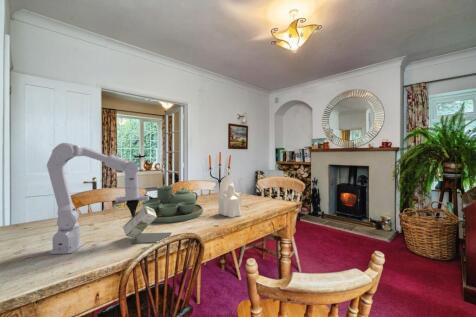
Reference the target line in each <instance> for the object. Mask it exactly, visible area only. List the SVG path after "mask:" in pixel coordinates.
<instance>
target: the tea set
mask: <svg viewBox="0 0 476 317" xmlns="http://www.w3.org/2000/svg"><path fill="white" fill-rule="evenodd" d="M156 190H157V193H156V196H157V199H156V198H152V199H150V198H149V200H148V201H146V200H144V201H142V208H143V207H144V206H147V207H149V208H151V209H153V210H154V211H155V213H156V216H157V217H156V218H155V219H154V220H153V221H152V222H151V223H155V224H156V223H166V224H169V223H177V222H178V223H179V222H185V221H188V220H189V221H190V220H192V219H195V218H198V217H199V216H201V215H202V214H203V212H204V207H203V206H201V205H200V204H198V203H197V201H198V197H199V196H198V193H197V192H196V191H192V192H191V190H190V189H188V188H184V187H183V188H180V189H179V188H178V189H177V190H175V192H173V190H174V186H173V185H158V186H156Z"/></svg>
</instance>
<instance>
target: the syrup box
mask: <svg viewBox="0 0 476 317" xmlns="http://www.w3.org/2000/svg"><path fill="white" fill-rule="evenodd" d="M156 217H157V216H156V213H155V211H154V210H153V209H151V208H149V207H147V206H144V207H143V206H142V207H141V208H140V209H139V210H138V212H136V213H135V216H134V217H131V218H130V219H129V220H128V222H127V223H126V224H124V225H123V227H122V229H123V231H124V234H125V236H126V237H128V238H132V239H135V238H136V237H137V236H138V235H139V234H140V233H143V231H144V230H146V229H147V228H148V226H150V225H151V223H153V222H152V221H153V220H154V219H155V218H156Z"/></svg>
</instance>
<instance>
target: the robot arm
mask: <svg viewBox="0 0 476 317" xmlns="http://www.w3.org/2000/svg"><path fill="white" fill-rule="evenodd" d="M76 157H87V158H89V159H93V160H96V161H100V162H103V163H105V165H106V167H108V168H111V169H115V170H117V171H119V172H124V176H125V177H124V191H125V194H124V195H125V196H117V197H116V198H115V203H120V202H121V203H123V202H126V203H125V205H126V207H127V208H128V210H129V212H130V214H131V218H133V217H134V216H135V215H136V214H137V208H138V206H139V203H140V201H141V202H143V201H145V200H146V201H148V200H150V196H149V195H140V189H139V177H138V176H139V174H138V171H139V167H138V164H137V163H135V162H134V161H131V160H130V159H128V158H126V159H125V158H123V157H120V156H119V154H116V153H115V154H109V155H106V154H104V153H101V152H98V151H97V150H94V149H90V148H89V147H85V146H81V145H76V144H73V143H68V142H62V143H61V142H60V143H59V144H58V145H56V146H55V147H54V148H53V149H52V150H51V154H50V157H49V159H48V161H47V162H46V168H47V171H48V172H47V173H48V175H49V179H50V184H51V187H52V191H53V193H54V197H55V201H56V206H57V214H56V215H57V220H56V225H57V231H56V233H55V234H54V235H53V236H52V240H51V241H52V251H51V252H50V254H51V255H57V254H58V255H59V254H60V255H61V254H62V255H63V254H72V253H74V252H75V251H77V250H78V249H80V248H81V247H82V246H84V245H85V242H81V239H80V238H81V237H80V234H81V233H80V231H81V230H80V224H79V223H78V221H79V219H80V217H81V215H80V213H79V211H78V210H77V209H76V207H75V206H76V205H74V203H73V200H72V196H71V192H70V189H69V188H70V187H69V185H68V181H67V177H66V174H65V170H64V167H65V165H66V164H67V163H68V161H70V160H71V159H74V158H76Z"/></svg>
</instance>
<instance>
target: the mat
mask: <svg viewBox="0 0 476 317" xmlns="http://www.w3.org/2000/svg"><path fill="white" fill-rule="evenodd" d="M171 235H172V232H141V233H140V234H139V235H138V236H137V237H136V238H133V240H132V241H131V242H130V243H131V244H132V245H134V244H135V245H136V244H156V243H155V242H157V241H160V240H162V239H164V238H167V237H169V238H170V236H171Z"/></svg>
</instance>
